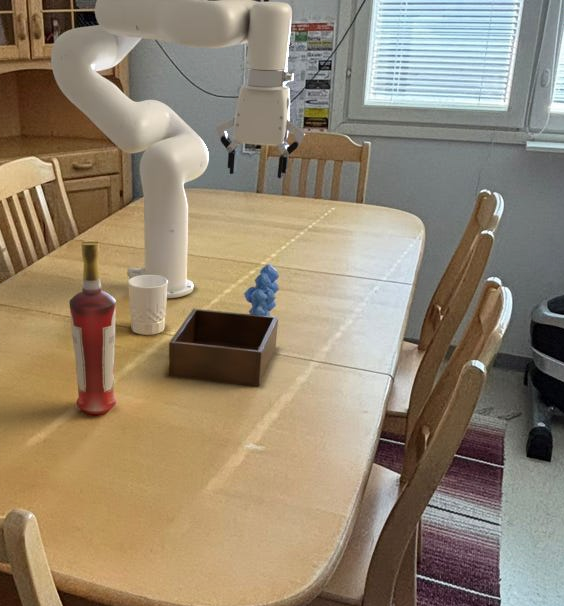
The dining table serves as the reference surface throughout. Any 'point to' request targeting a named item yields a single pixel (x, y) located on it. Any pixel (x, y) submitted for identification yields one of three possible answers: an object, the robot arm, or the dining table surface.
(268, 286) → the grapes
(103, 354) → the liquor
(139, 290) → the white cup
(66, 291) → the dining table surface
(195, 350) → the brown wooden box
